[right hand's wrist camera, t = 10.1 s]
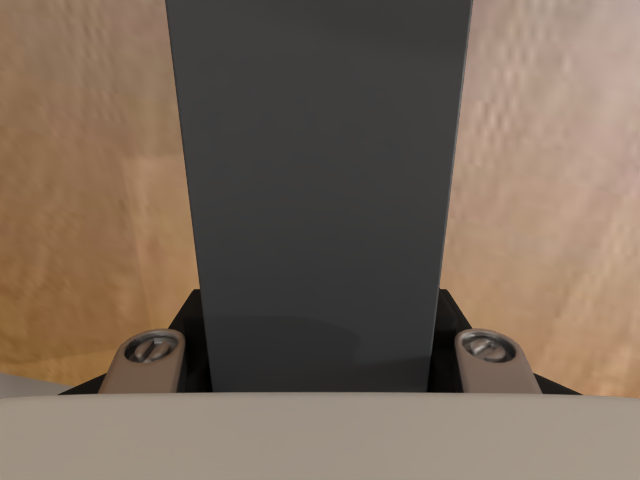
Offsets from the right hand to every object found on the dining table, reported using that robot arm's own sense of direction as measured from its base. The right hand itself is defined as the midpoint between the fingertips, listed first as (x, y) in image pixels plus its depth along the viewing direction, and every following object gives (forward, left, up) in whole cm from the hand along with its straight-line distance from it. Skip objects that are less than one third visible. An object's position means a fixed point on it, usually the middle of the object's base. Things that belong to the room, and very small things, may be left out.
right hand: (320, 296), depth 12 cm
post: (+28, -12, -2) cm, 30 cm away
